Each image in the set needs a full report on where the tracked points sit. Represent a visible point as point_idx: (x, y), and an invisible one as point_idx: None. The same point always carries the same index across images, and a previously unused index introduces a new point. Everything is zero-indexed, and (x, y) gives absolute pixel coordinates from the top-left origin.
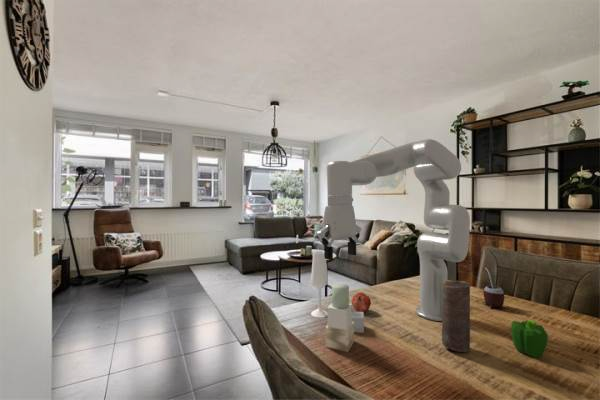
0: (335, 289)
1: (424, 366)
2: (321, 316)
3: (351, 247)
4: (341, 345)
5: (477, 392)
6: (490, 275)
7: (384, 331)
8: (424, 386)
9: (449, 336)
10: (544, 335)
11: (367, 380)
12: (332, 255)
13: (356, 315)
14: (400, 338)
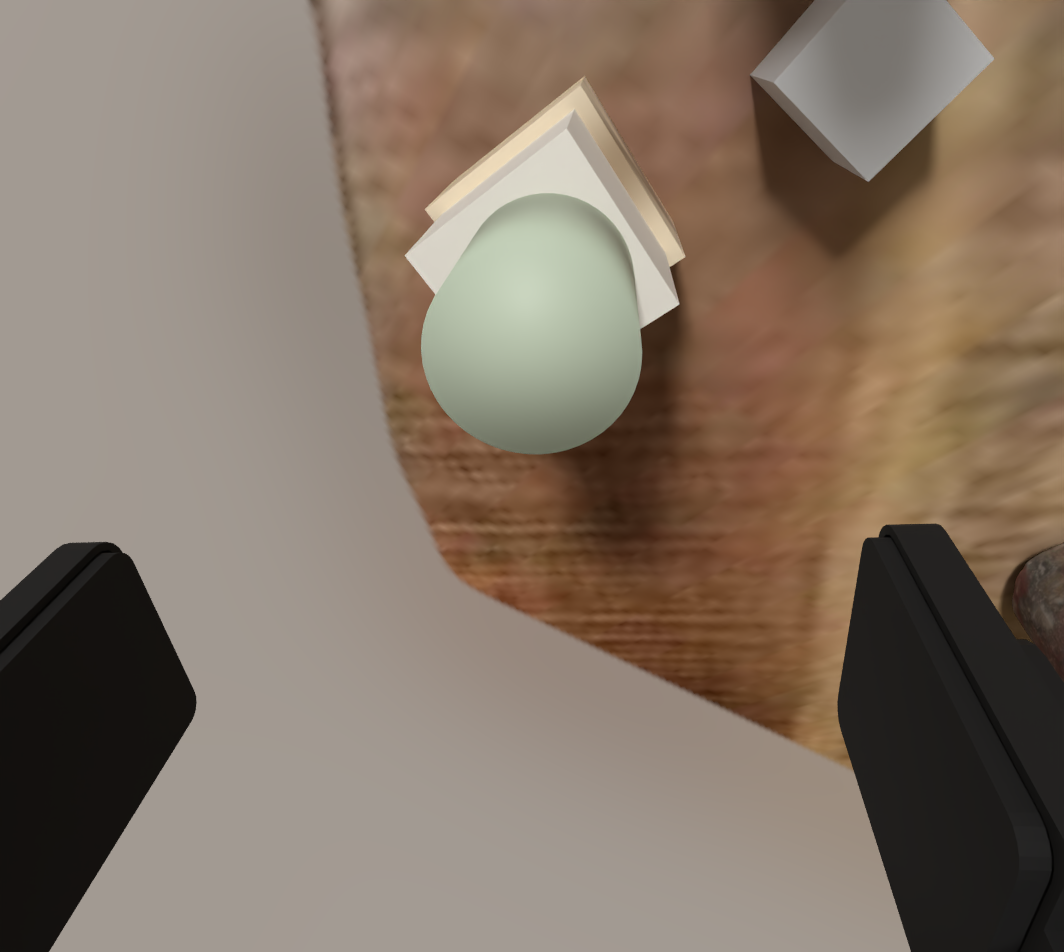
0: (433, 381)
1: (778, 576)
2: None
3: (909, 815)
4: None
5: (777, 726)
6: None
7: (977, 230)
8: (650, 636)
9: (1045, 637)
10: None
11: (477, 517)
12: (138, 787)
13: (863, 93)
14: (960, 359)
